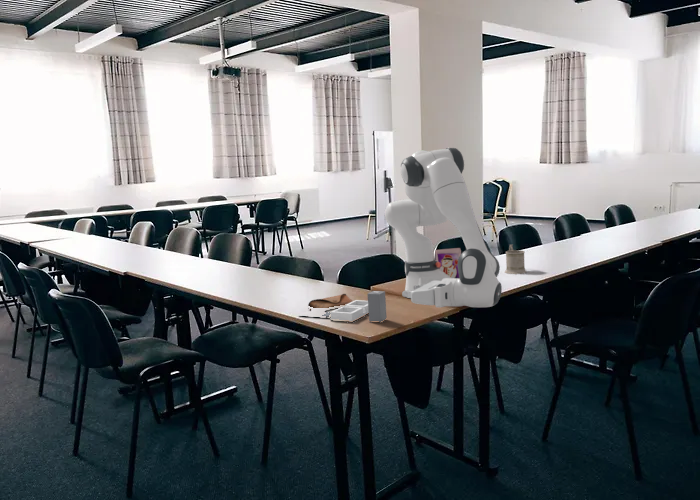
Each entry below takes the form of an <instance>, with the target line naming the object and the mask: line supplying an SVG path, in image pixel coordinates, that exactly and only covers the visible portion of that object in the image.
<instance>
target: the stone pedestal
mask: <svg viewBox="0 0 700 500" xmlns="http://www.w3.org/2000/svg"><path fill="white" fill-rule="evenodd" d="M505 261H506V264H505V265H506V268H505V271H504V273H505V274H508V275H509V274H510V275H521V274H522V275H523V274H527V270H526V268H525V250H519V249H518V250H514V248H513V244H509V247H508V250H507V251H505Z"/></svg>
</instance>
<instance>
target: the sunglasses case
mask: <svg viewBox="0 0 700 500" xmlns="http://www.w3.org/2000/svg"><path fill="white" fill-rule="evenodd" d="M353 301H354V300H352V299H351V298H350V297H349V296H348V295H347V293H342V294H339V295H334V296H329V297H325V298H317V299H313V300H311V301H309V302H308V306H310V307H313V308H329V307H334V306H340V305H345V304H348V303H351V302H353ZM308 306H307V307H308Z"/></svg>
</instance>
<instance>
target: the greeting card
mask: <svg viewBox="0 0 700 500" xmlns="http://www.w3.org/2000/svg"><path fill="white" fill-rule="evenodd" d="M434 251H435V253H434V254H435V255H434V256H435V260H436V261H438V262H440V263H441V266H440V267H439V268H438V269H440V270H441V271H443V272H444V273H445V274H447V275H448V276H450V277H451V278H459V273H458V259H459V256H460V255H461V254H462V250H461V247H454V248H442V249H435V250H434Z"/></svg>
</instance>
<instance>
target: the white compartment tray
mask: <svg viewBox="0 0 700 500" xmlns="http://www.w3.org/2000/svg"><path fill="white" fill-rule="evenodd" d="M352 301H353V302H351V303H348V304H346V305H345V306H342V307H340V308H338V309H333V310H331V311H330V312H331V318H330V319H339V320H349V321H353V320H355V319H357V318H359V317H361V316H363V315H365V314H367V313H369V311H368V300H363V299H362V300H361V299H355V300H352ZM330 319H329V320H330Z"/></svg>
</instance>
